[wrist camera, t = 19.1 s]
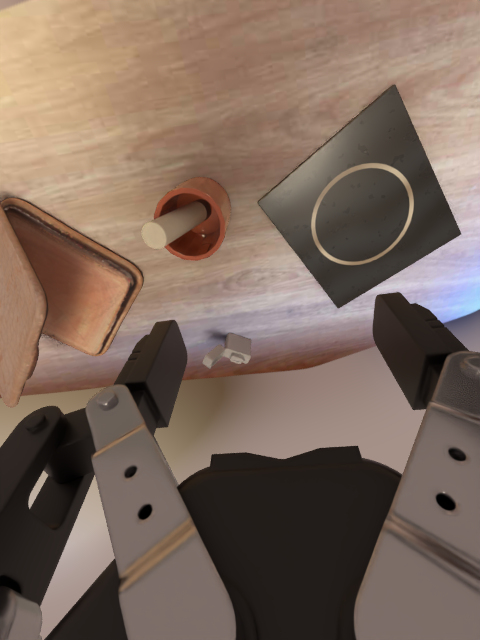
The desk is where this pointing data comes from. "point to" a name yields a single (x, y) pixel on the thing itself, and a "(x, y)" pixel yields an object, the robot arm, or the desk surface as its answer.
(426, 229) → the black flat square pad
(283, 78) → the desk surface
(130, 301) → the case
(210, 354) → the lighter
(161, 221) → the cylinder
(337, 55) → the desk surface
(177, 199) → the pen cup
